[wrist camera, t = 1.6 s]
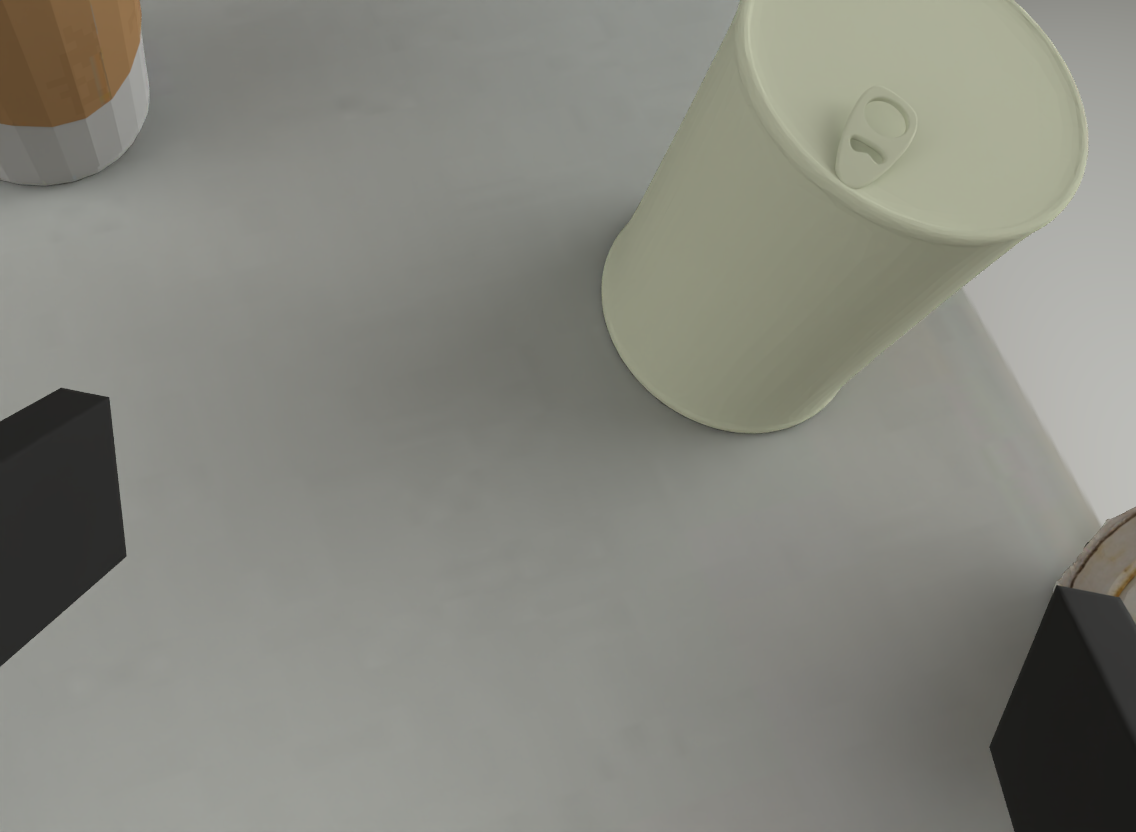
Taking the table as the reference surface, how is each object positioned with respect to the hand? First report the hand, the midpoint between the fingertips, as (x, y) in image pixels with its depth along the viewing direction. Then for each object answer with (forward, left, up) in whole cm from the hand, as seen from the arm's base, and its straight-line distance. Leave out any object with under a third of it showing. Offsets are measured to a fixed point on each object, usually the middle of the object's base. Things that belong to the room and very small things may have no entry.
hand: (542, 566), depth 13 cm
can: (-8, +13, -14) cm, 21 cm away
